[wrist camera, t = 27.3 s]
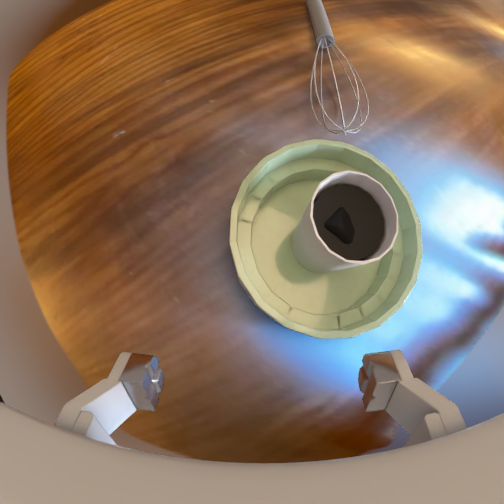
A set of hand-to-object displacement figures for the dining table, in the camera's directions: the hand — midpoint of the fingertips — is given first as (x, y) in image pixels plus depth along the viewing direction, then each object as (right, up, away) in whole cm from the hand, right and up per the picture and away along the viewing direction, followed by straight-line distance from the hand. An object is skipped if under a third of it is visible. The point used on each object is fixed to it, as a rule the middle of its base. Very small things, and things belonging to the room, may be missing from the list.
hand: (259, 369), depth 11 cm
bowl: (+6, +5, +19) cm, 20 cm away
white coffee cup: (+6, +5, +18) cm, 20 cm away
